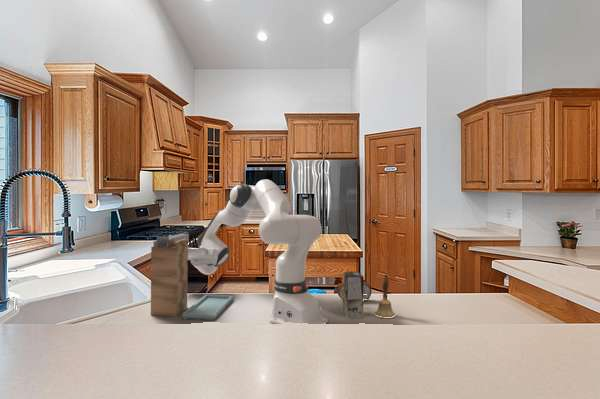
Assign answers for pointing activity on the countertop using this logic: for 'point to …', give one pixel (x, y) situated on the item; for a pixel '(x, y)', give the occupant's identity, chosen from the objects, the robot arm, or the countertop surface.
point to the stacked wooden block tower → (169, 279)
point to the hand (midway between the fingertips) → (189, 247)
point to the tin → (365, 291)
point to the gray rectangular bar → (170, 240)
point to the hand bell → (385, 301)
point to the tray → (208, 307)
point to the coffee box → (353, 294)
